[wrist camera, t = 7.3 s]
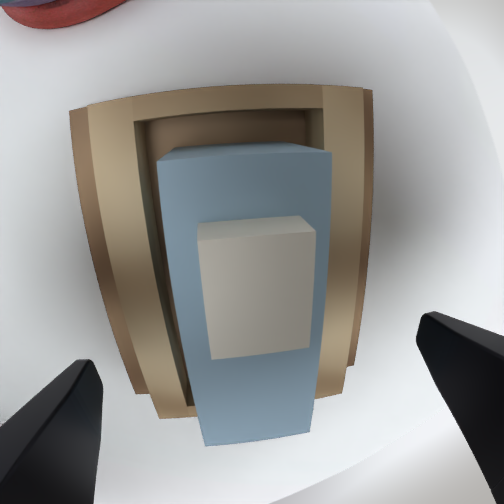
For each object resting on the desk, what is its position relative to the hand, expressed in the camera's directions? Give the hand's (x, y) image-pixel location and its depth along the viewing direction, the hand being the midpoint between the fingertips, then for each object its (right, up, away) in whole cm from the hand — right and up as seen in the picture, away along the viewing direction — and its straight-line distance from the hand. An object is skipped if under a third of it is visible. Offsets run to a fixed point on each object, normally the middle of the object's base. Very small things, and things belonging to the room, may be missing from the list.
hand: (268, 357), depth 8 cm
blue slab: (-1, +2, +6) cm, 6 cm away
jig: (-1, +3, +7) cm, 8 cm away
